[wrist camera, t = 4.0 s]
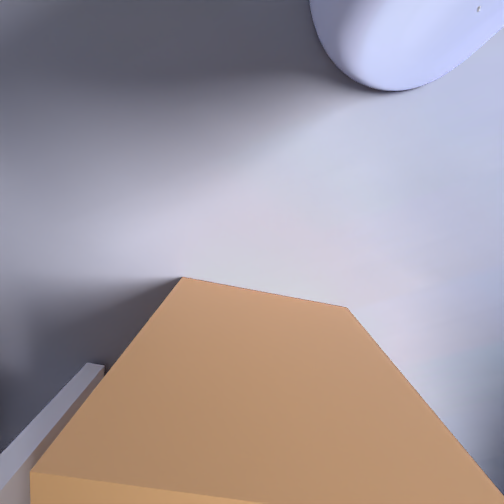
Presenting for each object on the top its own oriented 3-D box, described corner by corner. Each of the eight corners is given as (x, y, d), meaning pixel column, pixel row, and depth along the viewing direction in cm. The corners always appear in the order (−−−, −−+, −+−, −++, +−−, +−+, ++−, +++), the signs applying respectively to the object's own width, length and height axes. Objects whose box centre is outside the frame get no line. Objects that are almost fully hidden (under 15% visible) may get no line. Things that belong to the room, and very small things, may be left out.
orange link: (182, 277, 10) (29, 472, 3) (347, 307, 10) (541, 540, 3) (152, 487, 13) (40, 830, 6) (282, 505, 13) (316, 845, 6)
